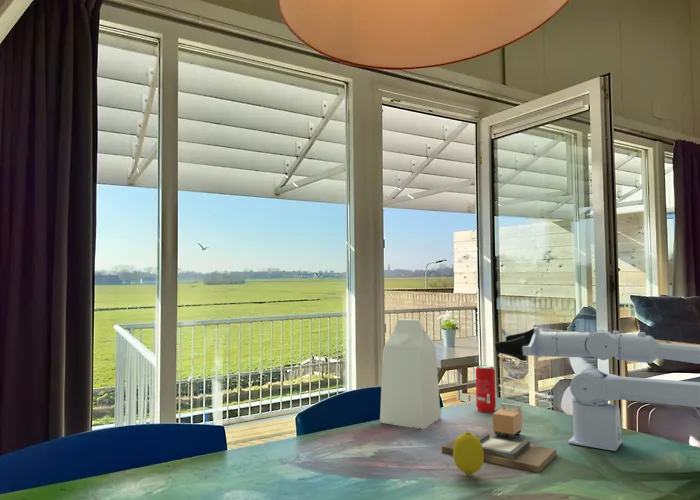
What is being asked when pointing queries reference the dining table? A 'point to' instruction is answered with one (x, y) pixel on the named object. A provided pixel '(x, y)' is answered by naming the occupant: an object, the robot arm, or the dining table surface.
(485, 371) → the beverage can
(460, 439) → the lemon
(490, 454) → the dock
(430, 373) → the milk
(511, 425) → the toy cart
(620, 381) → the robot arm
